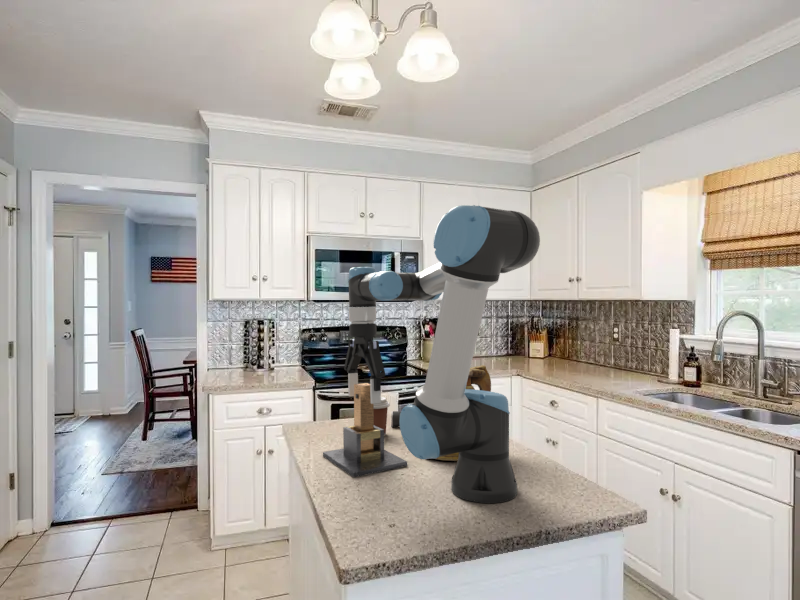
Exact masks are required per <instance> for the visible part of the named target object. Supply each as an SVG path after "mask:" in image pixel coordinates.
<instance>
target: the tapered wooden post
mask: <svg viewBox="0 0 800 600" xmlns="http://www.w3.org/2000/svg"><path fill="white" fill-rule="evenodd" d="M353 418H354V419H353V423H354V424H353V426H354V430H355V431H357V432H365V431H371V430H374V404H371V397H370V383H368V382H364V383H358V384H354V396H353ZM373 451H374V439H370V440H364V441H361V454H362V453H367V452H373Z"/></svg>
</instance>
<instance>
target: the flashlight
mask: <svg viewBox="0 0 800 600" xmlns="http://www.w3.org/2000/svg"><path fill="white" fill-rule="evenodd" d="M400 413H401V411H400V410H398V411H397V410H396V411H395V410H394V411H393V410H391V425H390V426H391V427H392V428H400Z"/></svg>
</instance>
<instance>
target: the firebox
mask: <svg viewBox="0 0 800 600" xmlns="http://www.w3.org/2000/svg"><path fill="white" fill-rule="evenodd" d="M342 428H343V431H342V432H343V434H342V435H343V437H342V438H343V447H342V448H339V449H338V448H337V449H333V450H328V451H323V452H322V456H323V458H325V459H326V460H327V461H329V462H331V463H332V464H334V465H335V466H336V467H337V468H339V469H341V470H342V471H343V472H345V473H346V474H347V475H349V476H351V477H352V478H357V477H362V476H366V475H367V476H368V475H372V474H374V473H375V474H376V473H381V472H385V471H390V470H396V469H400V468H404V467H407V466H408V461H407V460H406V459H404V458H401V457H400V456H397V455H396V454H393V453H392V452H390V451H388V450H386V449H385V436H384V429H381V428H379V427H377V426H375V425H374V430H371V431H365V432H357V431H355V430H354V425H351V426H344V427H342ZM370 439H374V451H373V452H367V453H362V454H361V441H364V440H370Z"/></svg>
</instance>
